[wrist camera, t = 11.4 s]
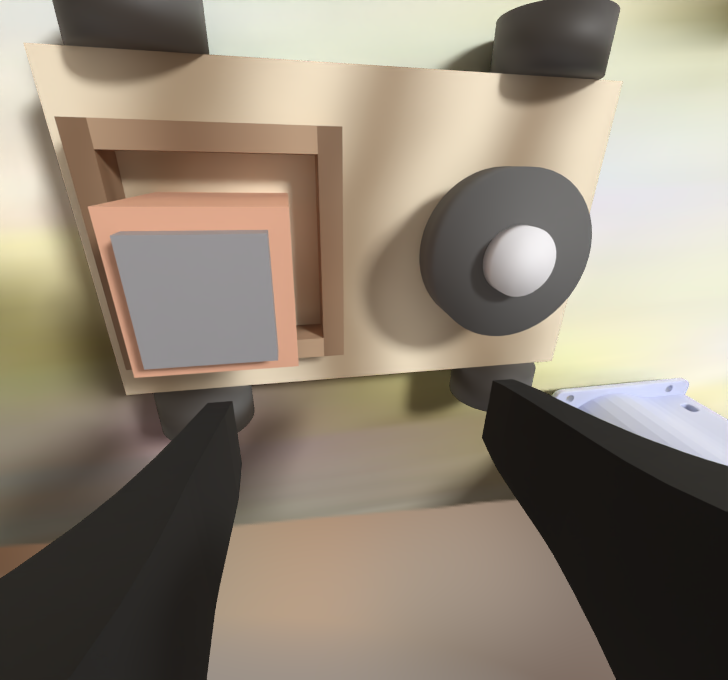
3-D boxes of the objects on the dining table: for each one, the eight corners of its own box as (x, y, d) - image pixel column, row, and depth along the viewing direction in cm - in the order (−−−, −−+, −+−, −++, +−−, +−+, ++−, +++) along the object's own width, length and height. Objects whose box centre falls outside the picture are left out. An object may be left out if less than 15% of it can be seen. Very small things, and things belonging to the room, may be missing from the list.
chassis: (588, 41, 16) (676, 6, 12) (518, 368, 22) (562, 406, 19) (50, -4, 12) (-45, -72, 9) (154, 398, 19) (123, 452, 15)
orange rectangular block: (288, 192, 14) (289, 209, 9) (295, 308, 16) (299, 376, 11) (155, 192, 13) (73, 209, 8) (179, 313, 15) (126, 389, 10)
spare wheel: (579, 167, 14) (626, 168, 12) (544, 317, 17) (579, 337, 15) (426, 164, 13) (450, 164, 11) (413, 324, 16) (432, 348, 14)
